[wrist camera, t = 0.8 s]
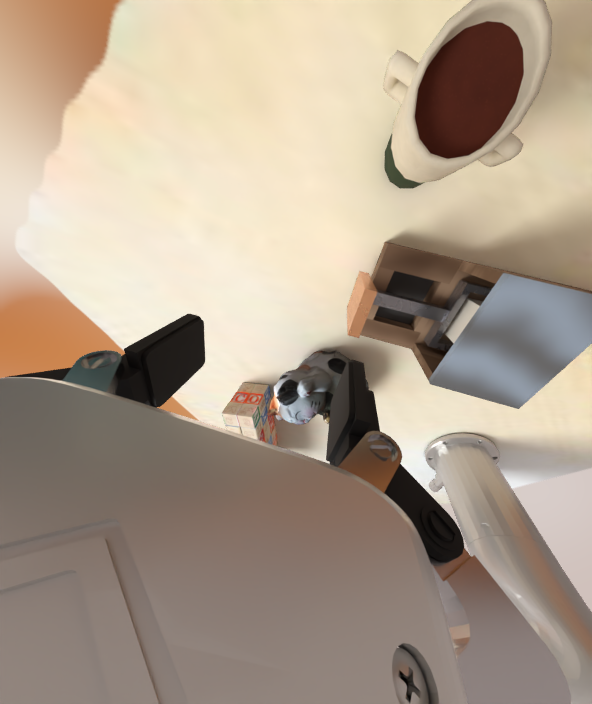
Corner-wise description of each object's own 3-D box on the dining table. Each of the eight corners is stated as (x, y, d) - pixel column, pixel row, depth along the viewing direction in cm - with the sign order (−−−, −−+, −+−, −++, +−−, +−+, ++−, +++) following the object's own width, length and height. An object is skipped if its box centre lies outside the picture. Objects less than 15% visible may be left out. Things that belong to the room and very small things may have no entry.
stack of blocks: (242, 381, 46) (212, 426, 36) (269, 383, 45) (246, 431, 34) (256, 444, 57) (236, 493, 46) (278, 448, 56) (263, 498, 45)
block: (478, 340, 29) (506, 364, 24) (442, 331, 30) (462, 352, 25) (504, 307, 27) (541, 325, 22) (464, 296, 27) (491, 313, 22)
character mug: (482, 142, 22) (619, 57, 11) (428, 215, 26) (489, 206, 15) (395, 78, 21) (450, -84, 10) (352, 164, 25) (357, 113, 14)
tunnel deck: (516, 370, 33) (583, 427, 24) (352, 326, 35) (355, 363, 25) (592, 291, 26) (729, 326, 17) (385, 241, 28) (404, 249, 19)
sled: (484, 355, 30) (534, 402, 22) (343, 318, 31) (342, 349, 23) (532, 297, 25) (617, 329, 17) (364, 256, 27) (372, 268, 19)
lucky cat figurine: (332, 414, 45) (288, 461, 36) (297, 370, 47) (247, 404, 38) (384, 387, 34) (339, 445, 25) (335, 331, 36) (277, 367, 27)
